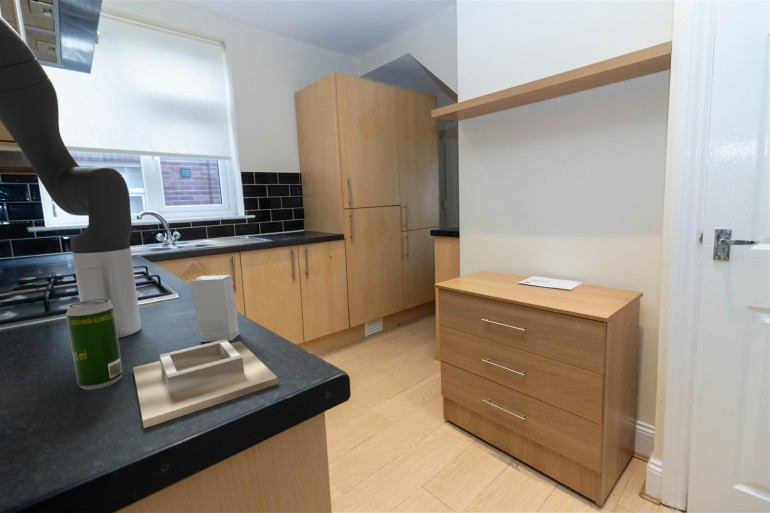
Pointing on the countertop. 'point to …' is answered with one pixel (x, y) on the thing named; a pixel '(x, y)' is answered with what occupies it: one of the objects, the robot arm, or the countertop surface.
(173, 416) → the socket plate
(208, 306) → the skincare box
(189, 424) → the countertop surface
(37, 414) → the countertop surface
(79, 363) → the beer can
